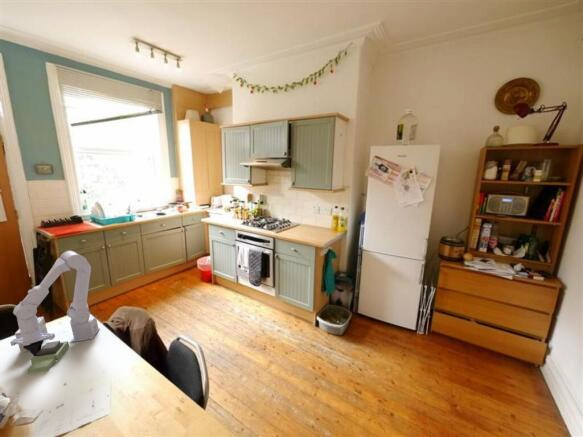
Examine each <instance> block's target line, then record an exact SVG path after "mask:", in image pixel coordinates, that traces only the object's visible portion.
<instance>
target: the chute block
mask: <svg viewBox="0 0 583 437" xmlns="http://www.w3.org/2000/svg"><path fill="white" fill-rule="evenodd" d="M60 342H62V343H60ZM63 342H64V341H61V340H57V341H56V340H55V341H49V342H46V343H45V344H43V345H44V346H43V345H42V346H43V347H41V349H40V350H39V351H38V353H37V357H38V356H44V355H50V354H56V353H57V351H58V350H59V349H60V348H61V347H62V345H63Z"/></svg>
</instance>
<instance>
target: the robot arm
mask: <svg viewBox="0 0 583 437" xmlns="http://www.w3.org/2000/svg"><path fill="white" fill-rule="evenodd" d="M55 260H56V261H55V262H54V264H53V265H52V267H51V268H50V270H49V271H48V273H47V274H46V275H45V277H44V278H43V279H42V281H41V282H40V283H39V285H36V286H33V287H32V288H31V289H28V291H27V293H28V294H27V295H26V296H25V298H23V300H22V301H19V304H17V305H16V306H15V307H14V309H13V311H12V313H13V315H14V316H15V317H16V321H17V325H18V330H19V329H20V332H21V335H22V337H21V338H17V339H16V338H13V339H12V340H11V341H10V343H9V344H10V346H11V347H12V346H13V347H14V346H15V345H18V344H24V346H23V348H24V349H26V350H28V351H27V352H29V353H30V354H32V356H33V357H37V353H38V351H39V350H40V349H41V348H42V346H43V344H44V342H43V341H47V340H50V341H51V340H54V338H55V337H56V334H55V332H52V333H51V332H50V333H49V332H48V333H41V330H40V326H39V323H38V319H37V318H38V316H37V315H36V314H37V313H38V310H37V308H38V307H39V306H40V305H41V303H42V302H43V300H44V299H45V298H47V296H48V294H49V293H50V291H49V288H50V287H51V286H52V285H53V284H54V282H55V281H56V280H57V279H58V277H59V276H60V275H61V274H62V273H65V272H68V271H69V272H70V271H71V269H75V270H76V276H75V284H74V291H73V298H72V302H71V303H70V304H69V308H68V309H67V312H66V315H67V317H68V318H70V322H69V324H70V328H71V331H72V336H73V337H71V339H70V340H69V343H74V342H75V343H76V342H80V341H87V340H93V339H94V337H95V336H96V334H97V333H98V331H100V327H99V324H98V321H97V318H96V317H91V314H90V311H89V304H88V297H89V296H88V294H89V288H90V287H89V286H90V280H91V279H90V278H91V273H92V266H91V264H90V263H89V261H88V260H87V257H85V256H83V255H81V254H79V253H77V252H76V251H74V250H66V251H64V252H63V253H61V255H60V257H58V258H57V259H55Z"/></svg>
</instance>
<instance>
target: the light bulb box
mask: <svg viewBox="0 0 583 437" xmlns="http://www.w3.org/2000/svg"><path fill="white" fill-rule="evenodd" d="M37 319H38V323H39V326H40V330H41V333H49V332H48V328H47V325H46V321H45V317H44V316H39V317H37ZM14 335H15V337H16V338H15V339H17V338H21V337H22V335H21V332H20V329H19V328H18V330H16V332H15V333H14ZM44 341H45V340H44ZM44 341H43V343H44ZM17 345H18V348H19V351H20V353H27V352H29V351H28V350H26V349H24V348H23V346H24V344H17Z"/></svg>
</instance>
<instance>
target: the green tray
mask: <svg viewBox="0 0 583 437" xmlns="http://www.w3.org/2000/svg"><path fill="white" fill-rule="evenodd" d="M62 342H63V345H62V347H61V348H60V349H59V350H58V351H57V353H56V354H50V355H44V356H38V357H34V356H33V357H31V358H30V359H29V360H30V363H31V364H30V365H29V367H28V368H27V369H26V371H27V374H28V375H29V374H35V373H39V372H46V371H49V370H50V369H51V368H52V367H53V365H54V364H55V363H56V361H57V362H58V361H60V359H61V358H62V357H63V356H64V354H65V352H67V351H68V349H69V348H70V342H69V341H68V340H66V341H60V343H62ZM44 345H45V344H42V347H43V346H44ZM42 347H41V348H42Z"/></svg>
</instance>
